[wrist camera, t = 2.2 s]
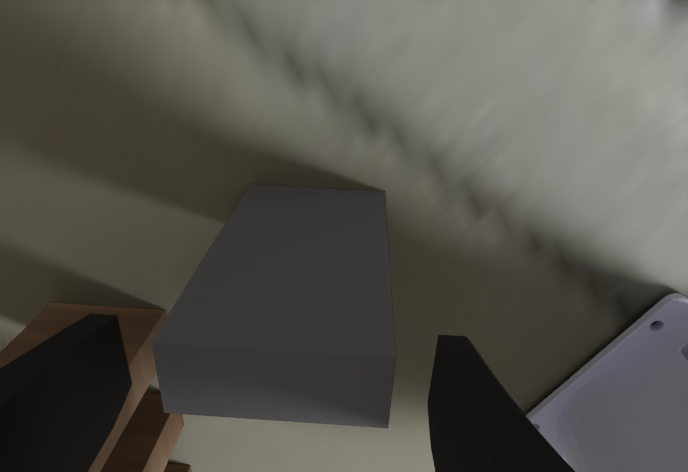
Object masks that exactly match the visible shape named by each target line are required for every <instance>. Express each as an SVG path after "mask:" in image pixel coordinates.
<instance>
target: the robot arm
mask: <svg viewBox="0 0 688 472" xmlns="http://www.w3.org/2000/svg"><path fill="white" fill-rule="evenodd" d="M655 321H658V322H657V323H656V324H654V325H651V324H652V323H653V322H655ZM131 386H132V380H131V375H130V371H129V366H128V362H127V357H126V353H125V348H124V344H123V339H122V335H121V330H120V326H119V321H118V316H117V315H104V314H89V315H87V316H85V317H84V318H82V319H80V320H78V321H77V322H75V323H73V324H71V325H70V326H68V327H66V328H65V329H63V330H62V331H60V332H58V333H57V334H55V335H53V336H52V337H50V338H49V339H47V340H45V341H44V342H42V343H41V344H39V345H37V346H36V347H34V348H33V349H31V350H29V351H28V352H26V353H24V354H23V355H21V356H20V357H18V358H16V359H15V360H13V361H11V362H10V363H8V364H7V365H5V366H3V367H2V368H0V472H88V471H89V469H90V467H91V465H92V464H93V462H94V460H95V459H96V457H97V455H98V454H99V452H100V450H101V448H102V447H103V445H104V443H105V441H106V440H107V438H108V436H109V434H110V433H111V431H112V429H113V427H114V426H115V423H116V421H117V419H118V417H119V414H120V412H121V410H122V408H123V405H124V403H125V400H126V398H127V395H128V393H129V390H130V388H131ZM428 416H429V429H430V441H431V450H432V455H433V460H434V466H435V471H436V472H688V298H686V297H685V296H683V295H681V294H679V293H673V294H670V295H667V296H666V297H664V298H663V299H662V300H660V301H659V302H658V303H657V304H656V305H655V306H653V307H652V308H651V309H650V310H649V311H648V312H646V313H645V314H644V315H643V316H642V317H640V318H639V319H638V320H637V321H636V322H635V323H633V324H632V325H631V326H630V327H629V328H628V329H626V330H625V331H624V332H623V333H622V334H621V335H619V336H618V337H617V338H616V339H615V340H614V341H612V342H611V343H610V344H609V345H608V346H607V347H605V348H604V349H603V350H602V351H601V352H600V353H598V354H597V355H596V356H595V357H594V358H592V359H591V360H590V361H589V362H588V363H587V364H585V365H584V366H583V367H582V368H581V369H580V370H578V371H577V372H576V373H575V374H574V375H573V376H571V377H570V378H569V379H568V380H567V381H566V382H564V383H563V384H562V385H561V386H560V387H559V388H557V389H556V390H555V391H554V392H553V393H552V394H550V395H549V396H548V397H547V398H546V399H545V400H543V401H542V402H541V403H540V404H539V405H537V406H536V407H535V408H534V409H533V410H532V411H530V412H529V413H528V414H527V415H525V414H524V413H523V412H522V410H521V409H520V408H519V407H518V405H517V404H516V403H515V402H514V400H513V399H512V398H511V396H510V395H509V394H508V393H507V391H506V390H505V389H504V387H503V386H502V385H501V383H500V382H499V381H498V379H497V378H496V377H495V375H494V374H493V373H492V371H491V370H490V368H489V367H488V366H487V364H486V363H485V361H484V360H483V359H482V357H481V356H480V354H479V353H478V351H477V350H476V349H475V347H474V346H473V344H472V343H471V341H470V340H469V339H468V338H467V337H466V336H449V335H438V341H437V348H436V354H435V360H434V366H433V372H432V378H431V385H430V391H429V397H428ZM533 424H534V425H533Z"/></svg>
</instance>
